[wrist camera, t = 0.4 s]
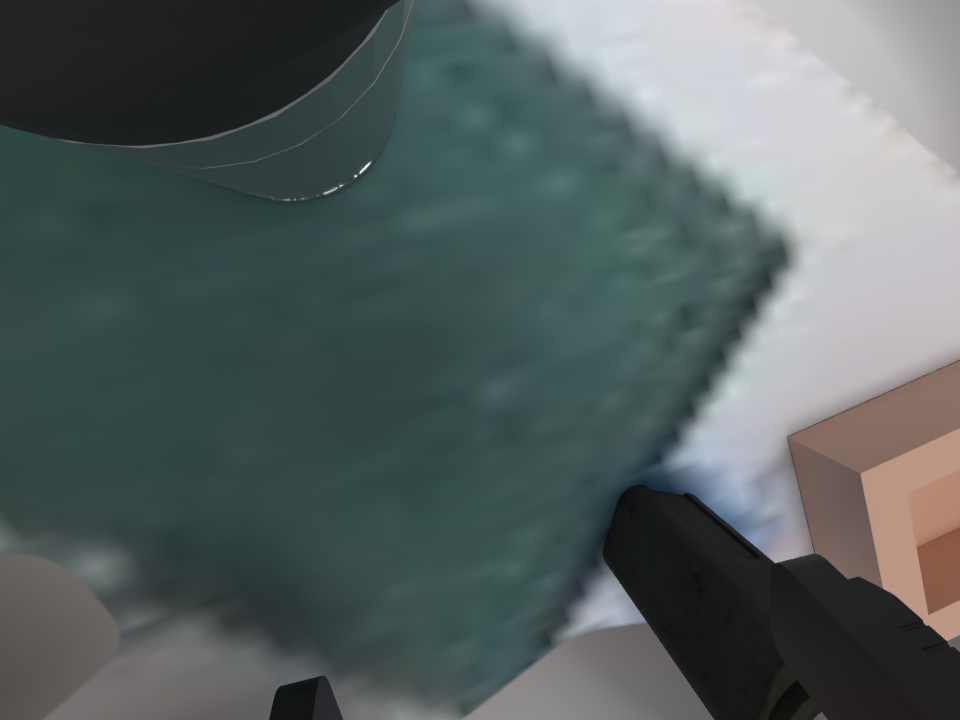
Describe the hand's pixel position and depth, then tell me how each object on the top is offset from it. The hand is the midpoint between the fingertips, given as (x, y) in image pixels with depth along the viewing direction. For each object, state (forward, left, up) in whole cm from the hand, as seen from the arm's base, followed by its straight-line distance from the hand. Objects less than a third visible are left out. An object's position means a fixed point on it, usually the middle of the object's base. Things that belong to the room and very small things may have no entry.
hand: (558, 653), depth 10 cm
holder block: (+17, +23, -18) cm, 34 cm away
